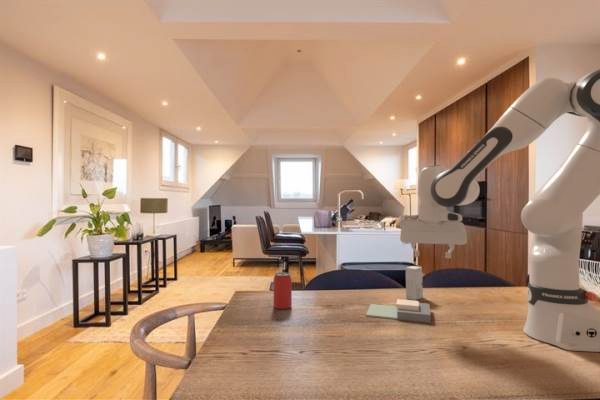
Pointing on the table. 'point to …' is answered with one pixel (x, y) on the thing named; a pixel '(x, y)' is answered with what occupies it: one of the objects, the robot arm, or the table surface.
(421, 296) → the skincare box
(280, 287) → the beer can
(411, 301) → the tile
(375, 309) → the mat
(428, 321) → the block
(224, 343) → the table surface
